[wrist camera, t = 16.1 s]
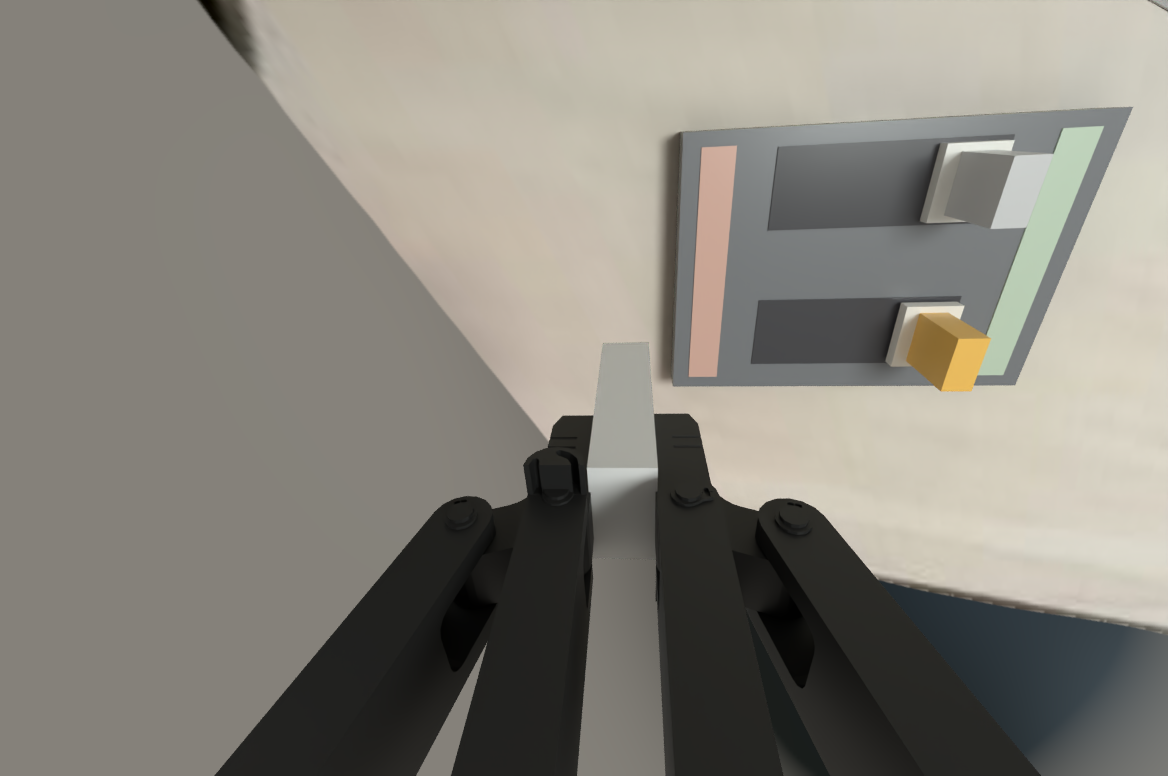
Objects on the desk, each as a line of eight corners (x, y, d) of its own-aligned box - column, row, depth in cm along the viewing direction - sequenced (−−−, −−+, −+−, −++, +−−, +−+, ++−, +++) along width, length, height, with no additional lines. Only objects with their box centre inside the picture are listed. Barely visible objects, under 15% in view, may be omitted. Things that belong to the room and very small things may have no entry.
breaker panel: (680, 131, 36) (692, 133, 28) (1099, 107, 33) (1236, 103, 25) (671, 373, 45) (678, 422, 38) (995, 371, 42) (1072, 424, 35)
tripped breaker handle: (901, 302, 37) (945, 331, 32) (956, 301, 37) (1010, 331, 32) (885, 361, 40) (923, 397, 34) (937, 360, 39) (984, 397, 34)
